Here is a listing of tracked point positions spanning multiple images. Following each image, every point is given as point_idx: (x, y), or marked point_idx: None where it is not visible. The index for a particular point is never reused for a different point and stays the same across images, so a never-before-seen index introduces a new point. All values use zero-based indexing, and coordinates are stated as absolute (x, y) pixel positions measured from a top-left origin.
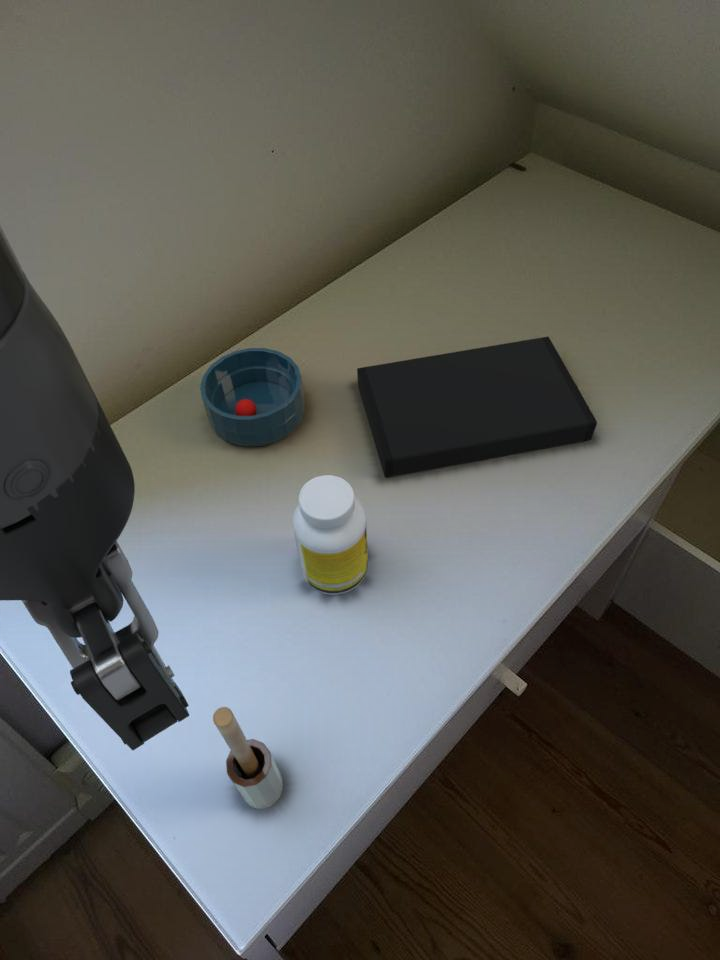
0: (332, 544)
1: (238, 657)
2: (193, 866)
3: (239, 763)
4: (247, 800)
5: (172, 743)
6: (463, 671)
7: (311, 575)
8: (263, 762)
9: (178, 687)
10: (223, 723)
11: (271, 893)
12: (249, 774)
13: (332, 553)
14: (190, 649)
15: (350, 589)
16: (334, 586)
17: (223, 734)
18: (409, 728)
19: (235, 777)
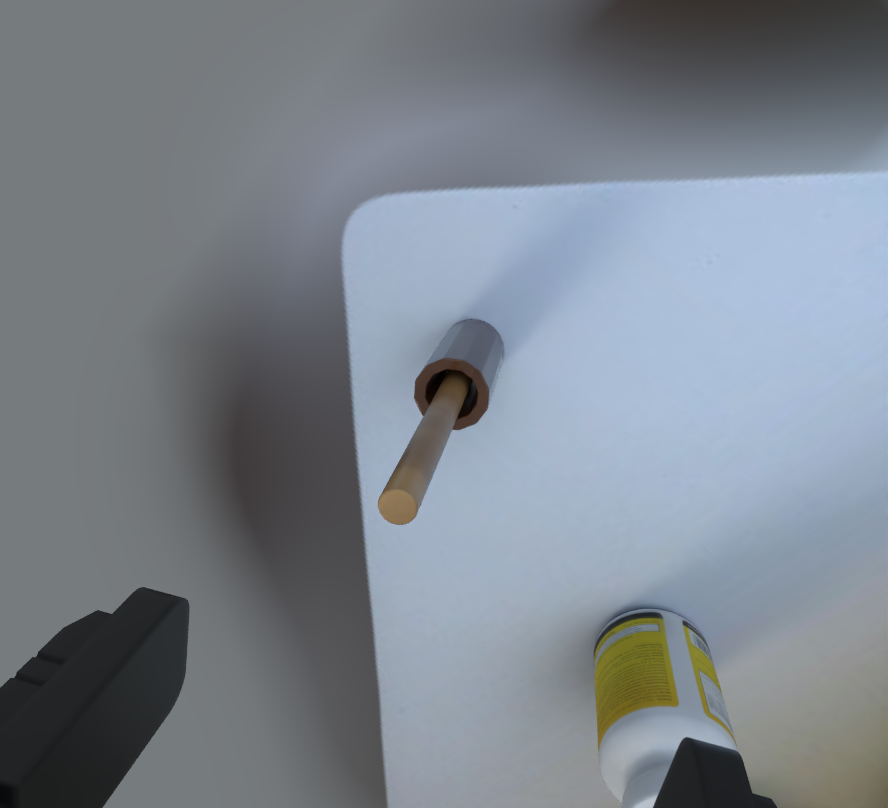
0: (621, 741)
1: (661, 456)
2: (460, 204)
3: (442, 394)
4: (457, 330)
5: (636, 292)
6: (391, 631)
7: (651, 639)
8: (473, 388)
9: (147, 741)
10: (384, 500)
11: (355, 265)
12: (445, 378)
13: (617, 721)
14: (743, 413)
15: (597, 640)
16: (612, 638)
17: (400, 466)
18: (386, 535)
19: (447, 365)
